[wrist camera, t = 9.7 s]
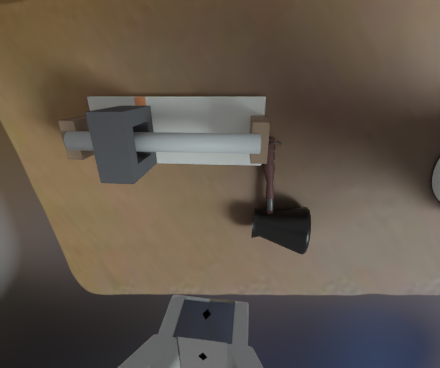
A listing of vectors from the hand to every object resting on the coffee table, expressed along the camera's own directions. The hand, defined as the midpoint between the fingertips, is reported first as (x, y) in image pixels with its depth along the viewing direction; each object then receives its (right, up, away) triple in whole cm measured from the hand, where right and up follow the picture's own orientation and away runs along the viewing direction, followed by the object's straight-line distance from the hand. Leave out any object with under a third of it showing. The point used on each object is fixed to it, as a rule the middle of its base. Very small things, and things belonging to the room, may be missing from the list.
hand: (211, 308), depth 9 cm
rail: (-6, +13, +27) cm, 30 cm away
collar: (-11, +12, +23) cm, 28 cm away
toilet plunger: (+11, +4, +30) cm, 32 cm away
